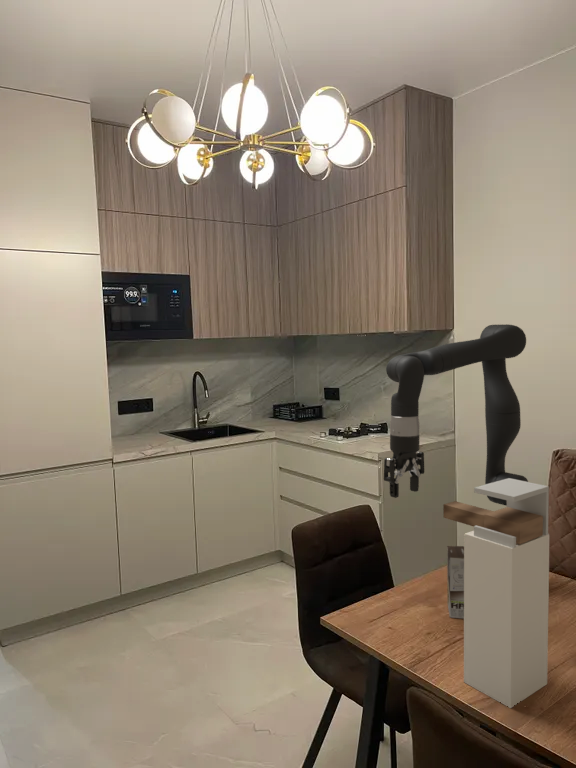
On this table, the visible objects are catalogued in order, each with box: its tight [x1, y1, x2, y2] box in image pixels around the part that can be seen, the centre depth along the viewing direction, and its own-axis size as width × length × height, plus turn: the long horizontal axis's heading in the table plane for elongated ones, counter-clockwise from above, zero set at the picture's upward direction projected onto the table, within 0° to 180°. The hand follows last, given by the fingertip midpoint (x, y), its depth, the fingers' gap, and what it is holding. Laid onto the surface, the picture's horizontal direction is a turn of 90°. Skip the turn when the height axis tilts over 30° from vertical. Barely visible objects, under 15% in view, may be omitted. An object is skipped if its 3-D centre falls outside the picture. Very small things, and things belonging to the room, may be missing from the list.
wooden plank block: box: [442, 500, 543, 544], centre depth 123 cm, size 20×8×4 cm, turn 36°
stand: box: [463, 478, 550, 709], centre depth 120 cm, size 11×13×42 cm
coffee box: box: [446, 545, 464, 620], centre depth 154 cm, size 9×6×16 cm
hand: (404, 493), depth 153 cm, fingers open, 8 cm apart
